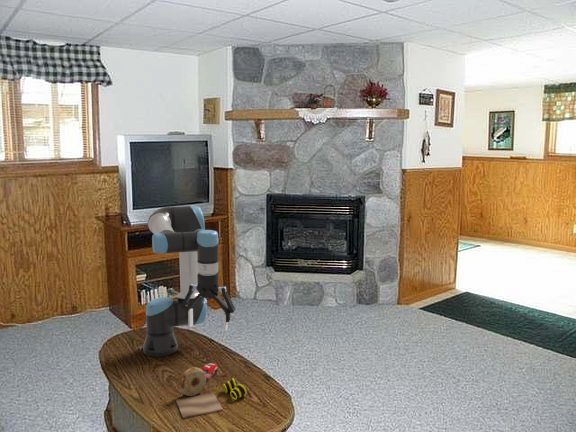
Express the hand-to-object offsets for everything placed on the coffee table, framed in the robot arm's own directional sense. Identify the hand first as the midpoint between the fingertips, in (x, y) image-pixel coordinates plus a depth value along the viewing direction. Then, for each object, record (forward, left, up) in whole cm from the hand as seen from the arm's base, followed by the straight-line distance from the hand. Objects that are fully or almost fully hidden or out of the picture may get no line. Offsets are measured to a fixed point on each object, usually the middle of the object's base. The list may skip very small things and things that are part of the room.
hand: (208, 328), depth 182 cm
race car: (-12, +2, -26) cm, 29 cm away
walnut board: (+8, -6, -25) cm, 27 cm away
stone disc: (-1, -6, -26) cm, 26 cm away
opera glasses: (+5, +8, -26) cm, 28 cm away
